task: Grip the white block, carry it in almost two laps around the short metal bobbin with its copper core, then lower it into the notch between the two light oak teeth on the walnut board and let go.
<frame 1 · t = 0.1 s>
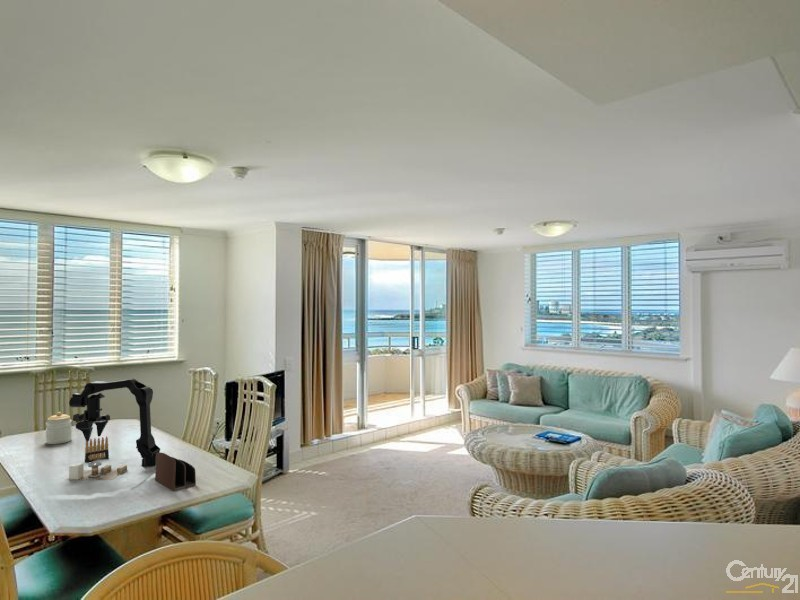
hand: (93, 438, 244), 15 cm above the table, tool pointing down, fingers open, 9 cm apart
bobbin: (94, 475, 229), resting on board
board: (96, 477, 230), on the table
ammunition clip: (96, 461, 256), on the table
jar: (58, 441, 294), on the table
white block: (76, 477, 226), point 1 cm above the table, touching board
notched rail: (114, 471, 234), resting on board
letter holder: (175, 483, 223), on the table
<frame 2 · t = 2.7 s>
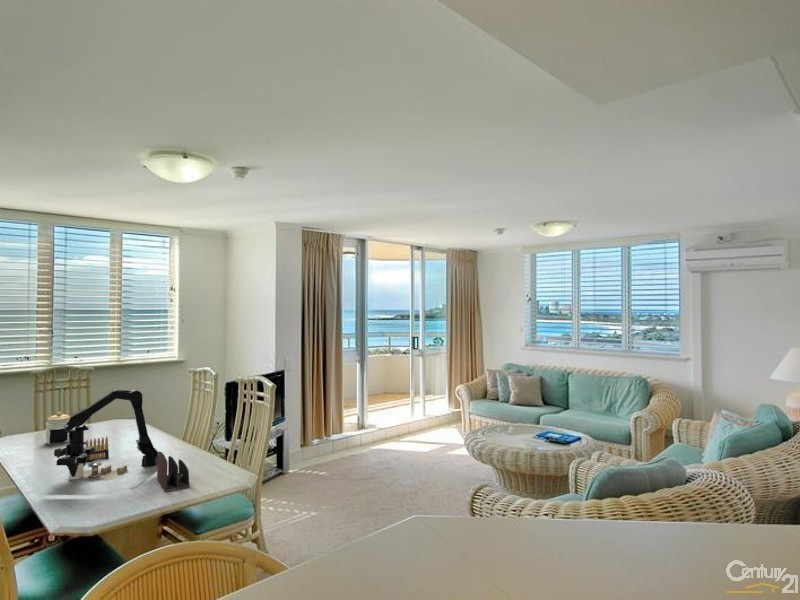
hand: (76, 474, 226), 3 cm above the table, tool pointing down, fingers closed on white block, 4 cm apart
white block: (76, 477, 226), point 1 cm above the table, touching board, gripper
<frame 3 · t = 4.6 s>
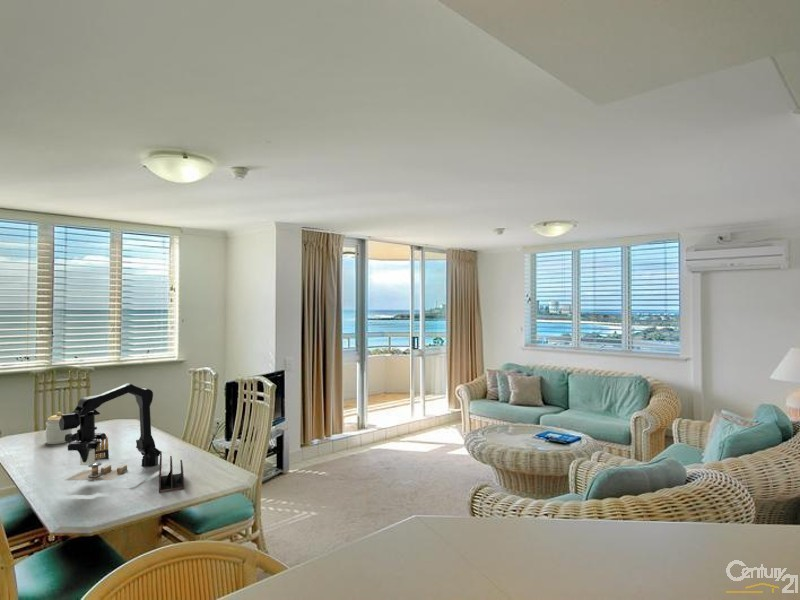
hand: (87, 460, 222), 11 cm above the table, tool pointing down, fingers closed on white block, 4 cm apart
white block: (87, 463, 222), point 9 cm above the table, touching gripper
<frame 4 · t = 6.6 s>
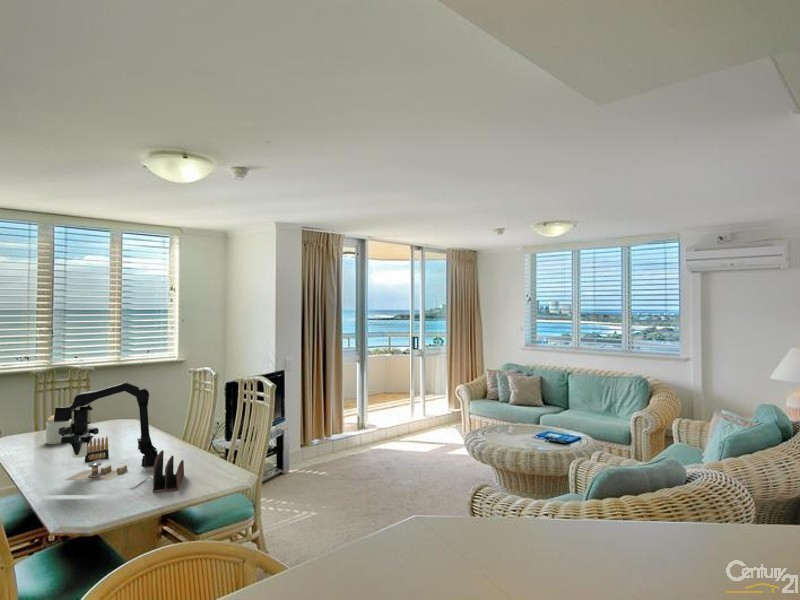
hand: (79, 453, 230), 12 cm above the table, tool pointing down, fingers closed on white block, 4 cm apart
white block: (79, 456, 230), point 10 cm above the table, touching gripper
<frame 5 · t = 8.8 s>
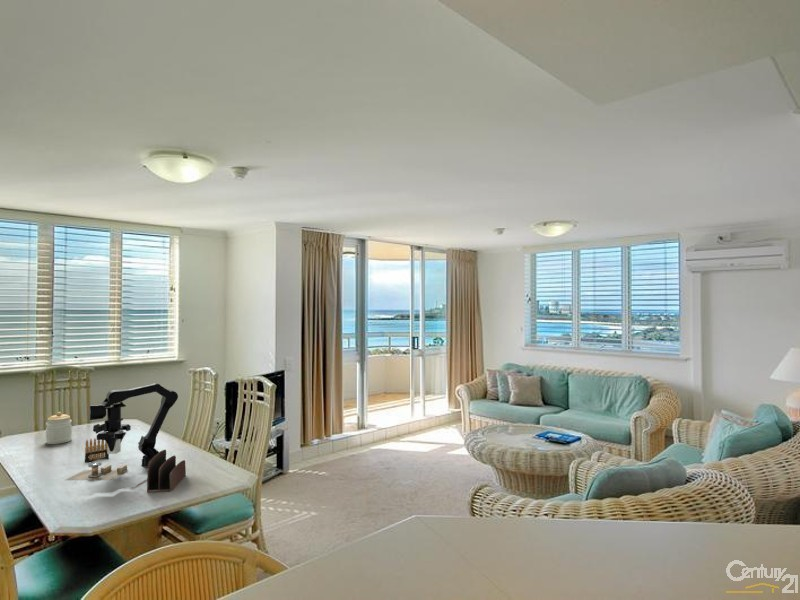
hand: (114, 450, 234), 12 cm above the table, tool pointing down, fingers closed on white block, 4 cm apart
white block: (113, 452, 234), point 11 cm above the table, touching gripper
when the fingers open (4 cm above the table, at t = 10.5 s): white block drops 2 cm, resting on board.
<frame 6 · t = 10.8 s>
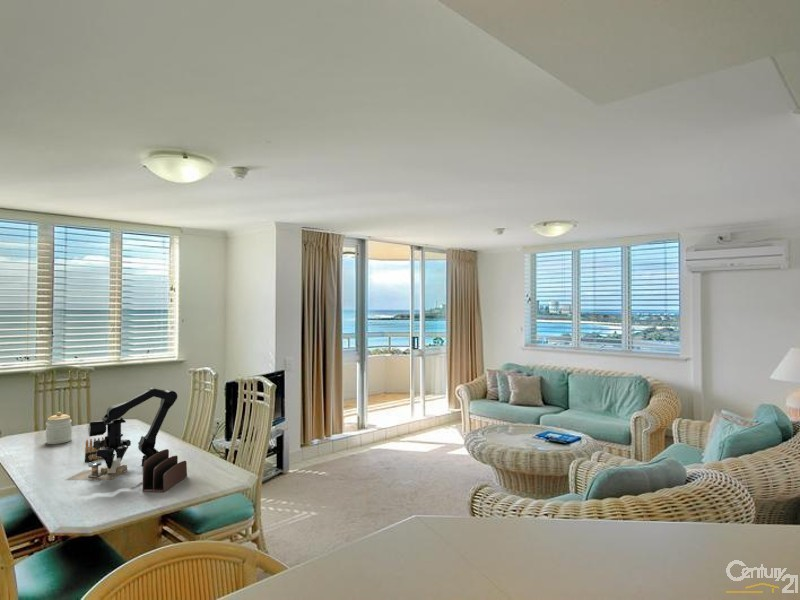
hand: (114, 465, 235), 4 cm above the table, tool pointing down, fingers open, 7 cm apart
white block: (113, 471, 234), point 1 cm above the table, touching board
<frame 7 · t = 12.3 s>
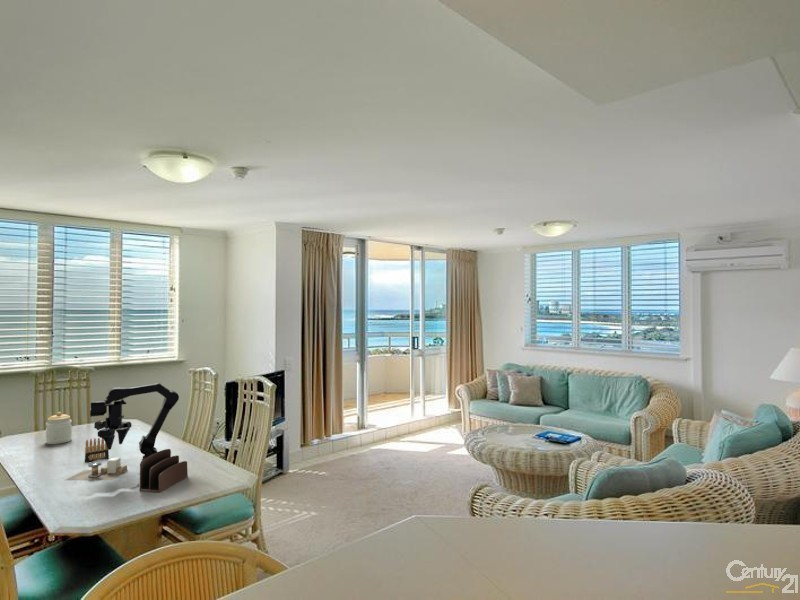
hand: (115, 446, 237), 13 cm above the table, tool pointing down, fingers open, 9 cm apart
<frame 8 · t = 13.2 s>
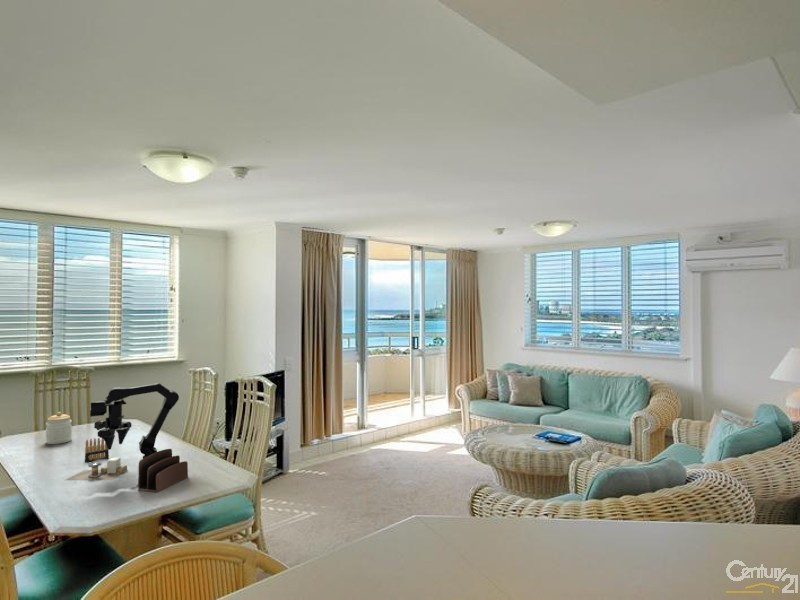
hand: (115, 446, 237), 13 cm above the table, tool pointing down, fingers open, 9 cm apart
at the end: white block 0.1 cm from the target spot, point 1.5 cm above the table; white block tilted 0°; the gripper is holding nothing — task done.
